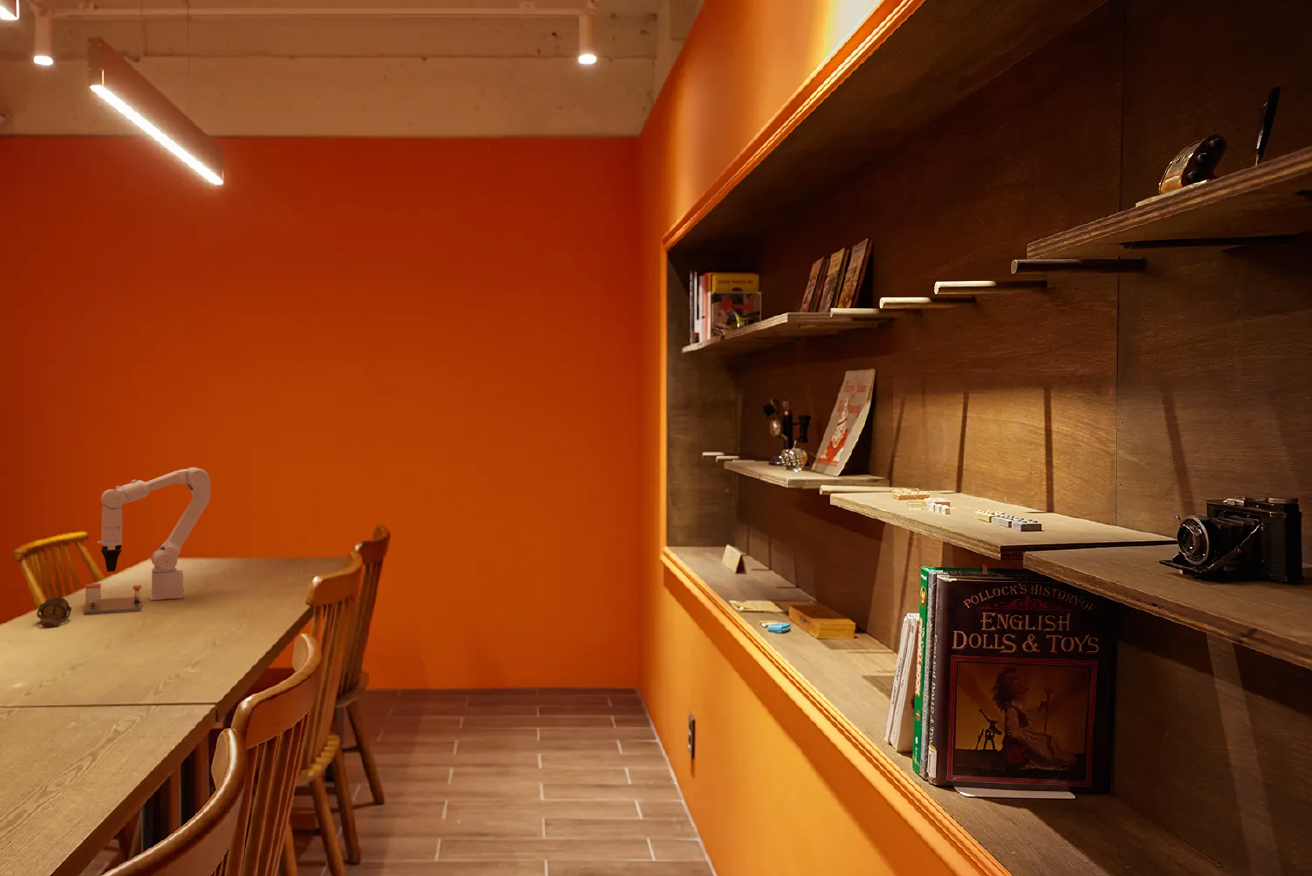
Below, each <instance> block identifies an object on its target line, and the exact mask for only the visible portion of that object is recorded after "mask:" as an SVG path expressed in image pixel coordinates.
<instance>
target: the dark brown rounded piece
mask: <svg viewBox="0 0 1312 876" xmlns="http://www.w3.org/2000/svg"><path fill="white" fill-rule="evenodd" d="M71 612H72V607H71V606H70V604H69V602H68V600H67V599H65V598H64V597H62V596H52V597H48V599H46V600H45V601H44V602H43V603H40V604H39V607H38V609H37V612H36V616H37V617H38V618H39V624H40V625H41V626H42V627H44V628H56V627H60V626H61V624H62V623H63V622H65V621H67V620H68V619H69V618H70V616H71Z"/></svg>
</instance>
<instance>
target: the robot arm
mask: <svg viewBox="0 0 1312 876" xmlns="http://www.w3.org/2000/svg"><path fill="white" fill-rule="evenodd" d="M211 483H212V482H211V478H210V476H209V474H208V472H207V471H206V470H205V469H203V468H199V467H196V466H190V467H187V468H184V469H179V470H173V472H169V473H166V474H163V475H161V476H159V477H156V478H154V479H151V480H147V481H143V480H141V479H139V480H137V479H133V480H131V481H130V483H126V484H124V485H121V486H120V485H116V486H115V489H111V488H110V489H107V490H105V491H104V492H102V494H101V497H100V499H99V500H100V503H101V504H102V508H101V509H102V510H101V511H102V512H101V540H98V541H96V544H97V545H103V546H101V549H100V552H101V553H102V555H103V558H104V562H105V567H106V572H108V573H111V572H112V573H114V572H116V570H117V565H118V559H119V557H120V555H121V553H122V549H121V548H122V544H123V543H124V542H123V512H122V511H123V510H122V509H123V505H124V504H129V503H131V502H134V501H137V500H140V499H143V498H147V496H148V495H149V493H150V492H151V491H153V490H158V489H160V488H161V489H162V488H165V487H167V486H170V485H174V484H177V485H178V484H179V485H186V487H187V488H189V491H190V493H191V496H192V499H191V500H190V502H189V503H188V505H187V507H186V509H185V510H184V511H183V513H182V515H181V517H180V518H179V520H178V521H177V523H176V525H175V526H174V528H173V529H172V530H171V532H170V534H169V536H168V537H167V538H166V540H165V541H164V542H163V543H162V544H161V546H160V547H159V548H158V549H156V550H155V551H154V552H153V553H152V555H151V558H150V559H151V563H152V564H153V568H152V569H151V594H150V595H149V597H150V598H149V599H150V601H157V600H171V599H183V598H184V592H185V587H184V570H183V569H178V570H177V567H176V566H177V565H178V558H179V555H180V554H181V550H182V547H183V545H184V543H185V542H186V540H187V539H188V537H189V536H190V534H191V532H192V530H193V528H195V525H196V524H197V522H198V520H199V518H201V516H202V514H203V512H204V511H205V509H206V508H207V507H208V504H209V502H210V500H211Z"/></svg>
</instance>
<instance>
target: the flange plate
mask: <svg viewBox="0 0 1312 876" xmlns="http://www.w3.org/2000/svg"><path fill="white" fill-rule="evenodd" d="M140 589H142V585H141V584H138V585H132V590H134V593H133V594H134V596H132V597H129V596H128V597H117V598H116V597H115V598H101V602H95V604H94V605H91V602H87V603H85V606H84V611H83V614H84V615H83V616H92V615H105V614H119V613H123V614H124V613H135V612H137V613H138V612H142V603H143V601H141V596H140Z"/></svg>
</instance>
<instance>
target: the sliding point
mask: <svg viewBox="0 0 1312 876" xmlns="http://www.w3.org/2000/svg"><path fill="white" fill-rule="evenodd" d="M101 599H102V584H101V583H85V604H86V603H87V602H91V605H94V604H95V602H101Z"/></svg>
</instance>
